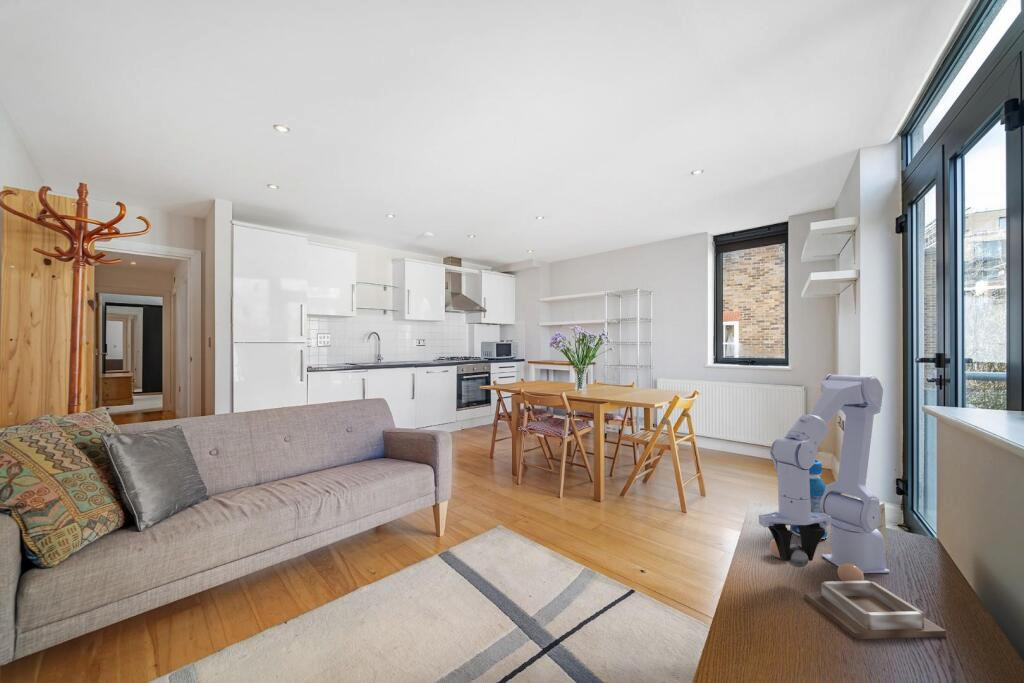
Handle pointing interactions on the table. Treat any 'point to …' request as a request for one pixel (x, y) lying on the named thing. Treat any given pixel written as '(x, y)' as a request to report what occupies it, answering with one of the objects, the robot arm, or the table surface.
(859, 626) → the holder board
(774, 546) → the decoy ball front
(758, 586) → the table surface
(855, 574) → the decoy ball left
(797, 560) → the steel ball
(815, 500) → the beverage bottle
